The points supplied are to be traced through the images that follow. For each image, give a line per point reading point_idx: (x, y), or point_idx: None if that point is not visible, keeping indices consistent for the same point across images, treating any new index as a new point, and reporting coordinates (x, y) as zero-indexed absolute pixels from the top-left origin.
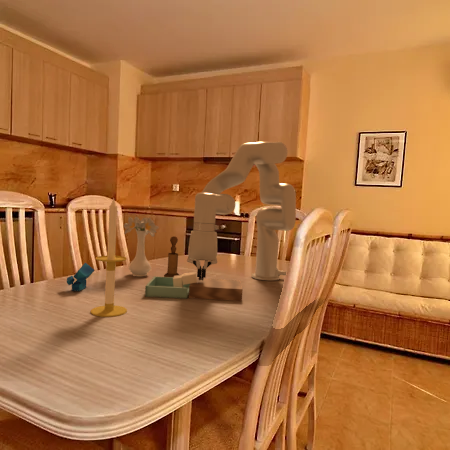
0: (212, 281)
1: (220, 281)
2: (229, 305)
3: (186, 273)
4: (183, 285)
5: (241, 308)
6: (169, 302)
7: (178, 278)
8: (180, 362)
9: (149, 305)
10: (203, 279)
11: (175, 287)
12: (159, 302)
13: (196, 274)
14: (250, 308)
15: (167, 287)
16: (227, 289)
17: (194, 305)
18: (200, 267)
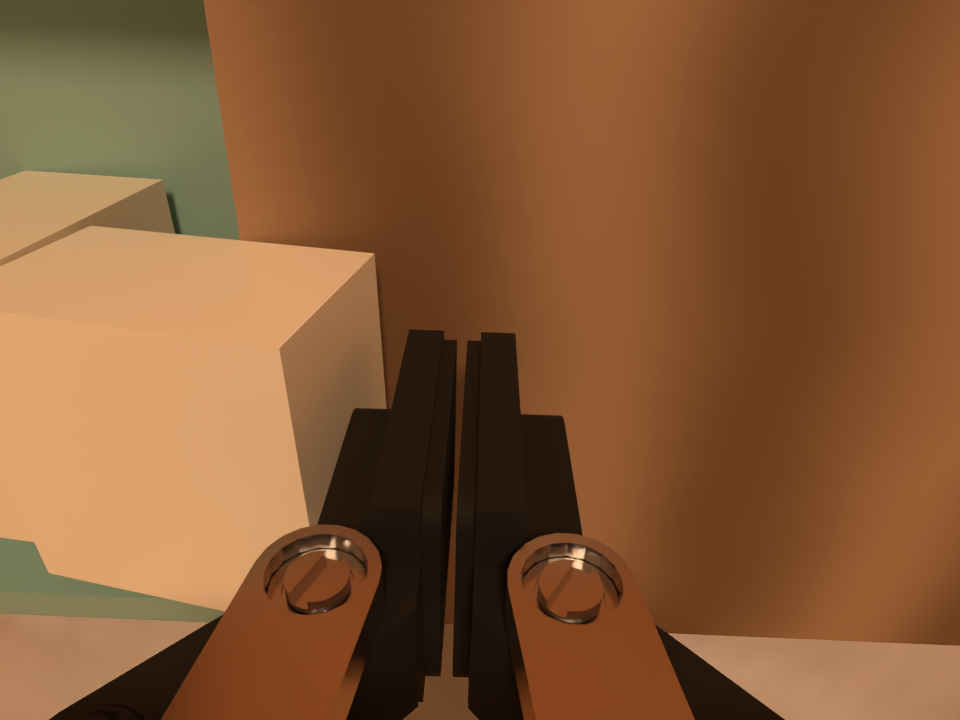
0: (725, 240)
1: (929, 201)
2: (759, 653)
3: (45, 382)
4: (130, 223)
5: (844, 704)
6: (181, 633)
7: (16, 533)
8: None
9: (53, 705)
10: (520, 50)
11: (118, 610)
12: (92, 641)
13: (325, 426)
14: (931, 698)
15: (14, 610)
16: (849, 628)
17: (425, 677)
18: (402, 698)
